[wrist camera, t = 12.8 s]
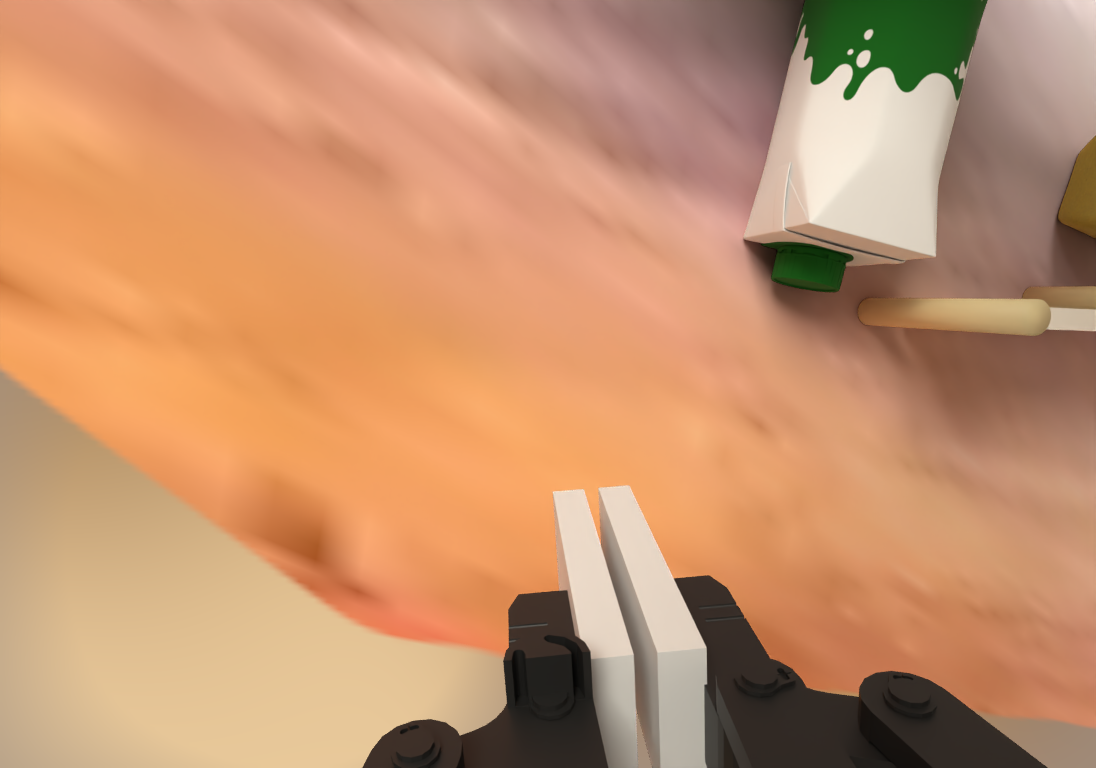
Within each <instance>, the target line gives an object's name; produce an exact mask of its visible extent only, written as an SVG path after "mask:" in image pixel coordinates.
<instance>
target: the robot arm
mask: <svg viewBox="0 0 1096 768" xmlns="http://www.w3.org/2000/svg"><path fill="white" fill-rule="evenodd" d="M598 491H599V511H600V532H601V544H600V541H599V538H598V535H597V531H596V528H595V525H594V521H593V518H592V515H591V511H590V508H589V505H588V501H587V498H586V495H585V492H584V489H580V490H568V491H556V492H553V501H554V516H555V532H556V547H557V563H558V578H559V591H551V592H540V593H529V594H518V596H517V597H516V599H515V600H514V602H513V603H512V605H511V606H510V608H509V609H508V614H509V648H508V649H507V650H506V653H505V657H504V661H503V662H504V673H505V685H506V695H507V704H506V706H505V708H504V710H503V711H502V712H501V713H500V714H499V715H498V716H497V718H495V719H494V720H493V721H491V722H490V723H488V724H487V725H485V726H483V727H481V728H479V729H477V730H474V731H472V732H469V733H466V734H464V735H461V736H459V734H458V732H457V731H456V730H455V729H454V728H453V727H451V726H450V725H448V724H447V723H445V722H440V721H436V720H432V719H429V720H417V721H411V722H409V723H406V724H403V725H400V726H397V727H396V728H394V729H393V730H392V731H390V732H388V733H387V734H385V735H384V736H382V738H381V739H380V740H379V741H378V743H377V744H376V745H375V746H374V748H373V749H372V751H371V752H370V754H369V756H368V758H367V760H366V762H365V764H364V766H363V768H638V754H637V753H638V752H637V726H636V710H637V714H638V717H639V721H640V724H641V728H642V732H643V736H644V739H645V742H646V746H647V750H648V754H649V757H650V761H651V765H652V768H1047V767H1046V766H1045V765H1043V764H1042V763H1041V762H1039V761H1038V760H1037V759H1035V758H1034V757H1033V756H1031V755H1030V754H1029V753H1028V752H1026V751H1025V750H1024V749H1022V748H1021V747H1020V746H1018V745H1017V744H1016V743H1014V742H1013V741H1012V740H1010V739H1009V738H1008V737H1006V736H1005V735H1004V734H1003V733H1001V732H1000V731H999V730H997V729H996V728H995V727H993V726H992V725H991V724H989V723H988V722H987V721H986V720H984V719H983V718H982V717H980V716H979V715H978V714H976V713H975V712H974V711H973V710H971V709H970V708H969V707H967V706H966V705H965V704H963V703H962V702H961V701H959V700H958V699H957V698H956V697H954V696H953V695H952V694H950V693H949V692H948V691H946V690H945V689H943V688H942V687H940V686H938V685H937V684H935V683H933V682H932V681H930V680H928V679H925V678H922V677H919V676H916V675H913V674H910V673H903V672H895V671H888V672H879V673H875V674H873V675H871V676H869V677H867V678H865V679H864V681H863V682H862V684H861V686H860V688H859V697H855V696H847V695H839V694H832V693H825V692H820V691H816V690H812V689H809V688H807V687H806V686H805V684H804V682H803V681H802V679H801V678H800V677H799V676H798V675H797V674H796V673H795V672H794V671H793V669H792V668H790V667H788V666H786V665H784V664H783V663H781V662H779V661H776V660H773V659H770V658H769V656H768V654H767V653H766V651H765V649H764V648H763V646H762V644H761V643H760V641H759V640H758V638H757V636H756V635H755V633H754V631H753V630H752V628H751V626H750V625H749V623H748V622H747V620H746V618H745V619H744V615H743V613H742V612H741V610H740V608H739V607H738V606H736V602H735V600H734V599H733V597H732V595H731V594H730V592H729V590H728V589H727V587H725V586H724V585H722V584H721V583H719V582H718V581H716V580H715V579H713V578H712V577H710V576H709V575H708V576H697V577H686V578H675V579H674V578H673V576H672V574H671V572H670V570H669V568H668V566H667V564H666V562H665V560H664V557H663V555H662V553H661V551H660V549H659V547H658V545H657V543H656V541H655V539H654V537H653V534H652V532H651V530H650V528H649V526H648V524H647V522H646V520H645V518H644V516H643V514H642V511H641V509H640V507H639V505H638V503H637V501H636V499H635V497H634V495H633V493H632V490H631V488H630V486H629V485H628V486H616V487H604V488H598Z"/></svg>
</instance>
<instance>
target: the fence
mask: <svg viewBox="0 0 1096 768" xmlns="http://www.w3.org/2000/svg"><path fill="white" fill-rule="evenodd" d="M1050 307H1052V308H1073V309H1094V310H1096V286H1056V287H1029V288H1027V289H1026V290H1025V291H1024V293H1023V296H1022V299H961V298H867V299H865V300H863V301H862V302H861V303H860V305H859V307H858V318H859V320H860V321H861V322H862V323H863V324H865V325H874V326H889V327H904V328H920V329H935V330H951V331H966V332H981V333H997V334H1012V335H1028V336H1037V335H1040V334H1042V333H1043V332H1044V331H1045V330H1046V329H1047V328H1048V326H1049V324H1050V320H1051V311H1050Z"/></svg>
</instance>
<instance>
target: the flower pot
mask: <svg viewBox="0 0 1096 768" xmlns="http://www.w3.org/2000/svg"><path fill="white" fill-rule="evenodd" d="M1058 219H1059V221H1060V222H1061V223H1063V224H1065V225H1067V226H1069V227H1072V228H1074V229H1076V230H1078V231H1080V232H1082V233H1085V234H1087V235H1089V236H1091V237H1093V238H1095V239H1096V136H1095V137H1094V138H1093V139H1092V140H1091V141H1090V142H1089V143H1088V144H1087V145H1086V146H1085V147H1084V148H1083V149H1082V150H1081V152H1080V153H1079V154H1078V157H1077V160H1076V163H1075V166H1074V169H1073V172H1072V175H1071V178H1070V181H1069V184H1068V187H1067V190H1066V193H1065V195H1064V198H1063V201H1062V204H1061V207H1060V210H1059V213H1058Z"/></svg>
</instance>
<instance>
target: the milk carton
mask: <svg viewBox="0 0 1096 768" xmlns="http://www.w3.org/2000/svg"><path fill="white" fill-rule="evenodd" d="M987 1H988V0H805V2H804V6H803V10H802V14H801V18H800V22H799V27H798V31H797V35H796V39H795V43H794V47H793V51H792V55H791V60H790V64H789V68H788V72H787V76H786V80H785V84H784V88H783V93H782V97H781V101H780V105H779V109H778V113H777V117H776V122H775V126H774V130H773V134H772V138H771V142H770V146H769V151H768V155H767V159H766V163H765V167H764V171H763V174H762V178H761V181H760V184H759V188H758V191H757V194H756V198H755V201H754V204H753V208H752V211H751V214H750V218H749V221H748V224H747V227H746V231H745V234H744V237H743V238H744V239H745V240H749V241H753V242H759V243H761V245H763V246H766V247H771V248H775V249H776V250H778V252H777V255H776V259H775V263H774V268H773V272H772V276H771V279H772V280H773V281H775V282H777V283H780V284H783V285H787V286H791V287H795V288H800V289H806V290H812V291H820V292H837V291H839V289H840V286H841V282H842V278H843V274H844V271H845V268H846V266H864V265H876V264H901V263H904V262H905V261H906V260H912V259H922V258H932V257H936V235H937V202H938V185H939V179H940V175H941V171H942V167H943V163H944V159H945V155H946V151H947V147H948V143H949V139H950V136H951V132H952V128H953V124H954V120H955V116H956V112H957V109H958V105H959V101H960V97H961V93H962V89H963V86H964V82H965V78H966V74H967V70H968V66H969V63H970V59H971V55H972V51H973V47H974V43H975V40H976V36H977V32H978V29H979V25H980V21H981V18H982V15H983V12H984V9H985V6H986V4H987Z"/></svg>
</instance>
